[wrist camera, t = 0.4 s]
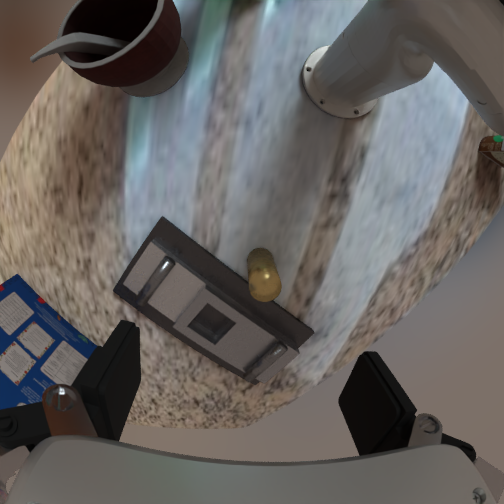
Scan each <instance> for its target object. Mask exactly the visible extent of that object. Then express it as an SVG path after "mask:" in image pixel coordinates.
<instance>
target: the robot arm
mask: <svg viewBox="0 0 504 504" xmlns="http://www.w3.org/2000/svg"><path fill="white" fill-rule="evenodd" d="M434 62H435V63H436V64H437V65H438V66H439V67H440V68H441V69H442V70H443V71H444V72H445V73H446V74H447V75H448V76H449V77H450V78H451V79H452V80H453V82H454V83H455V84H456V85H457V86H458V88H459V89H460V90H461V91H462V93H463V94H464V95H465V96H466V98H467V99H468V100H469V102H470V103H471V104H472V106H473V107H474V108H475V110H476V111H477V112H478V114H479V115H480V116H481V118H482V119H483V120H484V122H485V123H486V124H487V125H488V126H489V127H490V128H491V129H492V130H493V131H494V132H496V133H497V134H499V135H501V136H504V6H503V4H502V3H501V2H500V1H499V0H368V1H367V3H366V4H365V5H364V7H363V8H362V9H361V10H360V12H359V13H358V14H357V15H356V16H355V17H354V19H353V20H352V21H351V22H350V24H349V25H348V26H347V27H346V28H345V29H344V31H343V32H342V33H341V34H340V35H339V36H338V38H337V39H336V40H335V41H334V42H333V44H332V45H328V46H323V47H321V48H318V49H316V50H315V51H314V52H312V53H311V54H310V56H309V57H308V58H307V60H306V61H305V64H304V66H303V71H302V79H303V84H304V87H305V90H306V92H307V94H308V96H309V97H310V98H311V100H312V101H313V102H314V103H315V104H316V105H317V106H318V107H319V108H320V109H322V110H323V111H325V112H326V113H328V114H330V115H332V116H336V117H339V118H347V119H348V118H356V117H360V116H362V115H364V114H366V113H368V112H369V111H371V110H372V108H373V107H374V106H375V104H376V103H377V101H378V98H379V97H381V96H384V95H386V94H389V93H391V92H394V91H396V90H399V89H402V88H404V87H407V86H409V85H412V84H414V83H417V82H419V81H420V80H422V79H423V78H424V77H426V76H427V74H428V73H429V71H430V70H431V68H432V66H433V63H434ZM307 70H309V72H308V71H307ZM320 101H321V102H322V104H320ZM354 112H355V113H356V114H354ZM140 381H141V365H140V329H139V327H136V325H135V323H134V322H129V321H125V320H121V321H120V322H119V324H118V325H117V327H116V328H115V330H114V331H113V332H112V334H111V335H110V337H109V338H108V340H107V341H106V343H105V344H104V346H103V347H102V346H97V347H96V348H95V350H94V351H93V353H92V354H91V355H90V357H89V358H88V360H87V361H86V363H85V364H84V366H83V367H82V369H81V370H80V372H79V373H78V375H77V377H76V378H75V380H74V381H73V383H72V384H71V386H70V385H66V384H55V385H52V386H50V387H48V388H47V389H46V390H45V391H44V392H43V395H42V401H40V402H36V403H31V404H27V405H22V406H16V407H11V408H6V409H1V410H0V504H497V503H498V501H499V499H500V496H501V494H502V492H503V489H504V474H503V473H502V472H501V471H500V470H498V469H497V468H495V467H494V466H492V465H491V464H489V463H488V462H486V461H485V460H483V459H482V458H480V457H478V458H477V459H476V452H475V450H474V448H473V447H472V446H471V445H470V444H468V443H466V442H463V441H461V440H458V439H456V438H453V437H451V436H448V435H446V434H444V433H442V424H441V422H440V421H439V420H438V419H437V418H436V417H435V416H433V415H431V414H426V413H423V414H419V415H418V416H417V417H416V416H415V413H416V411H417V409H416V408H415V406H414V405H413V403H412V402H411V400H410V399H409V397H408V396H407V394H406V393H405V391H404V390H403V388H402V387H401V385H400V384H399V383H398V381H397V380H396V378H395V377H394V375H393V374H392V373H391V371H390V370H389V368H388V367H387V365H386V364H385V363H384V361H383V360H382V358H381V357H380V355H379V354H378V353H377V352H371V351H370V352H369V351H365V352H363V353H362V354H361V355H360V356H359V357H358V359H357V362H356V364H355V366H354V368H353V370H352V372H351V375H350V376H349V379H348V381H347V383H346V385H345V387H344V389H343V391H342V393H341V395H340V397H339V406H340V408H341V411H342V413H343V415H344V418H345V420H346V423H347V425H348V428H349V430H350V433H351V435H352V438H353V440H354V443H355V445H356V448H357V450H358V453H359V455H360V456H355V457H347V458H340V459H329V460H317V461H300V462H251V461H234V460H221V459H211V458H203V457H196V456H189V455H183V454H176V453H170V452H165V451H160V450H155V449H150V448H145V447H141V446H137V445H132V444H127V443H123V442H119V440H120V436H121V434H122V431H123V428H124V425H125V422H126V420H127V417H128V414H129V411H130V409H131V406H132V403H133V401H134V398H135V395H136V393H137V390H138V388H139V385H140ZM18 469H20V470H19V472H18V474H17V476H16V478H15V480H14V483H13V485H12V487H11V489H10V491H9V494H8V493H7V491H6V482H7V480H8V479H9V478H10V477H12V476H14V475H15V471H16V470H18Z"/></svg>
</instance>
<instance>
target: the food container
mask: <svg viewBox="0 0 504 504" xmlns="http://www.w3.org/2000/svg"><path fill="white" fill-rule="evenodd" d="M478 152H480V153H481V154H483V155H484V156H486V157H487V158H489V159H490V160H492V161H493V162H494V163H496V164H497V165H499V166H500V167H503V168H504V136H501V135H498V136H488V137H484V138H483V139H482V140H481V142H480V145H479V149H478Z"/></svg>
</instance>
